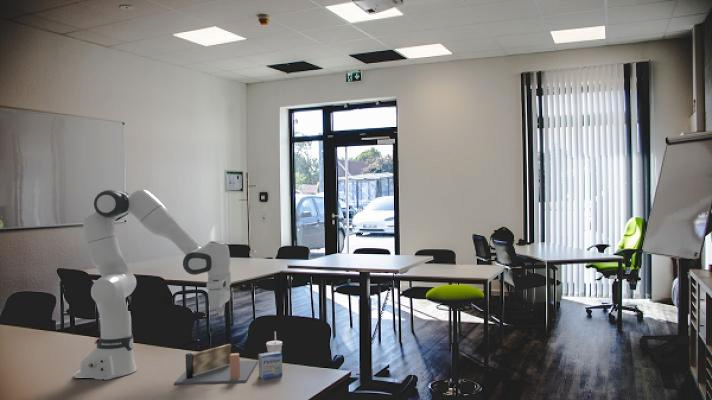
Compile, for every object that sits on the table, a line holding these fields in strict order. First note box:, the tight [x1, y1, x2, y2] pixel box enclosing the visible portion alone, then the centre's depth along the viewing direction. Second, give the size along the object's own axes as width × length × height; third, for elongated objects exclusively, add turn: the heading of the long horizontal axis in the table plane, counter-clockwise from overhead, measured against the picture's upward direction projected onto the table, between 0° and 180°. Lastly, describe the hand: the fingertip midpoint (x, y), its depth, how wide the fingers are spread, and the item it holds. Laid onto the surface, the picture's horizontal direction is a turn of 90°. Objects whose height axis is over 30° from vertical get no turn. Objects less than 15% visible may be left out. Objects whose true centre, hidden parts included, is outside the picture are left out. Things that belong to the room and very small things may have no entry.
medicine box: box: [257, 351, 283, 380], centre depth 203 cm, size 8×4×9 cm, turn 117°
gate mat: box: [173, 360, 259, 385], centre depth 209 cm, size 26×24×1 cm
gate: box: [192, 343, 232, 375], centre depth 210 cm, size 17×2×8 cm, turn 140°
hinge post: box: [185, 352, 193, 379], centre depth 202 cm, size 2×2×10 cm
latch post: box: [230, 352, 241, 379], centre depth 199 cm, size 3×2×10 cm
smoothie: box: [265, 331, 283, 353], centre depth 214 cm, size 6×6×14 cm
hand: (221, 315), depth 219 cm, fingers closed
